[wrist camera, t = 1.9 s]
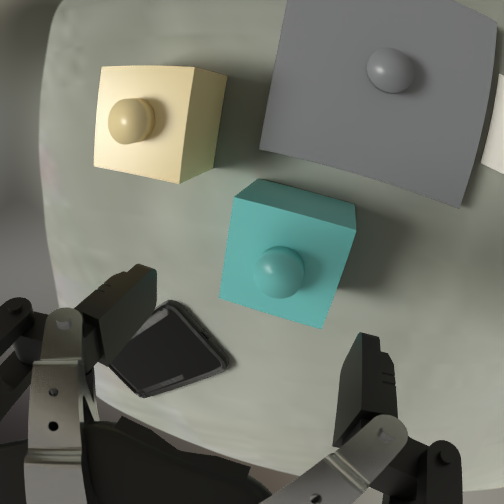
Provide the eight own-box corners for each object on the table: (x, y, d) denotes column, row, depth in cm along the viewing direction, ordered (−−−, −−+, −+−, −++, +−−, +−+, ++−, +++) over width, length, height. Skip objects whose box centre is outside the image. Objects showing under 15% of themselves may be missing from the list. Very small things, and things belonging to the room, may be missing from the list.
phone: (94, 351, 31) (169, 300, 24) (99, 345, 32) (175, 293, 25) (141, 399, 33) (232, 370, 26) (146, 393, 34) (236, 361, 27)
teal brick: (354, 204, 18) (357, 238, 13) (327, 288, 21) (319, 340, 16) (258, 178, 19) (226, 202, 14) (242, 263, 22) (212, 307, 17)
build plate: (489, 26, 11) (504, 18, 9) (453, 203, 16) (464, 214, 14) (298, -32, 13) (292, -47, 11) (264, 147, 18) (254, 151, 16)
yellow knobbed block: (227, 75, 17) (184, 64, 12) (213, 168, 20) (169, 188, 15) (145, 70, 18) (90, 66, 13) (136, 153, 21) (82, 169, 16)
